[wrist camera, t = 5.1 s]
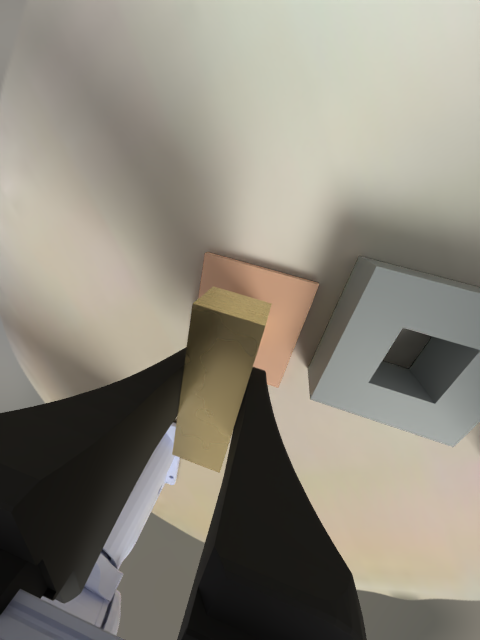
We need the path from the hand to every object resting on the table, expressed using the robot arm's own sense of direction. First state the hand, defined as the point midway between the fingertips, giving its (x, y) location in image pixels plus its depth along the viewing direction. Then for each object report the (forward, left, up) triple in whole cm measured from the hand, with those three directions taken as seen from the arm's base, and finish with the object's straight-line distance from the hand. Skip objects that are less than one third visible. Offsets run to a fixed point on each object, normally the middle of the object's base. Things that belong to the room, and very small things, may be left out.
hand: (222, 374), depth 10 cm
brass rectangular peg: (0, 0, -5) cm, 5 cm away
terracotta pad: (0, 0, -6) cm, 6 cm away
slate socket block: (+2, -9, -6) cm, 11 cm away
